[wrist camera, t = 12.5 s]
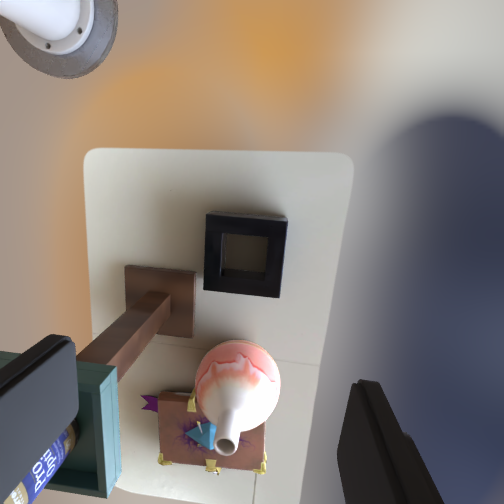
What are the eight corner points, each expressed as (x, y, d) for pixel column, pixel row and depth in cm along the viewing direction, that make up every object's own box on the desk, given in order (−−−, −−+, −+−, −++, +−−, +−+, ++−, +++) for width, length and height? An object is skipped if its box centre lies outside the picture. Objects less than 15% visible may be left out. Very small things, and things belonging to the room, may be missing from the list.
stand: (127, 264, 51) (-13, 349, 27) (196, 271, 50) (116, 365, 26) (129, 327, 54) (6, 454, 30) (194, 335, 54) (121, 472, 29)
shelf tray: (-13, 349, 27) (-42, 366, 24) (116, 365, 26) (99, 385, 23) (6, 454, 30) (-19, 479, 27) (121, 472, 29) (107, 499, 27)
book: (142, 381, 58) (129, 398, 53) (268, 391, 56) (267, 410, 51) (146, 451, 61) (134, 474, 57) (266, 463, 59) (265, 488, 55)
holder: (211, 210, 47) (205, 213, 44) (287, 217, 47) (288, 221, 43) (208, 281, 51) (203, 290, 47) (279, 288, 50) (279, 298, 46)
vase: (281, 393, 55) (281, 491, 38) (208, 392, 56) (178, 486, 39) (279, 326, 52) (278, 401, 35) (201, 326, 53) (164, 399, 36)
